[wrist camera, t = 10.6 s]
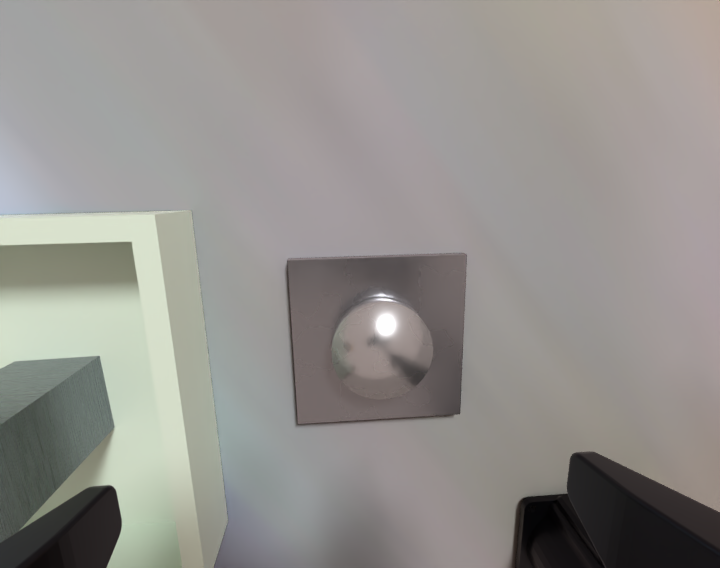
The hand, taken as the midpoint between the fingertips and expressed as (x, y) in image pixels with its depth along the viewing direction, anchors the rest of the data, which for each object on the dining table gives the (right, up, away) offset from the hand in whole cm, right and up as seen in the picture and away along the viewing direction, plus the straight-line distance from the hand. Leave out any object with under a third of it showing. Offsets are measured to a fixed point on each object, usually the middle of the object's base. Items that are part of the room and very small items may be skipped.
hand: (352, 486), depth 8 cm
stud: (+1, +1, +13) cm, 13 cm away
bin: (-15, -1, +13) cm, 20 cm away
